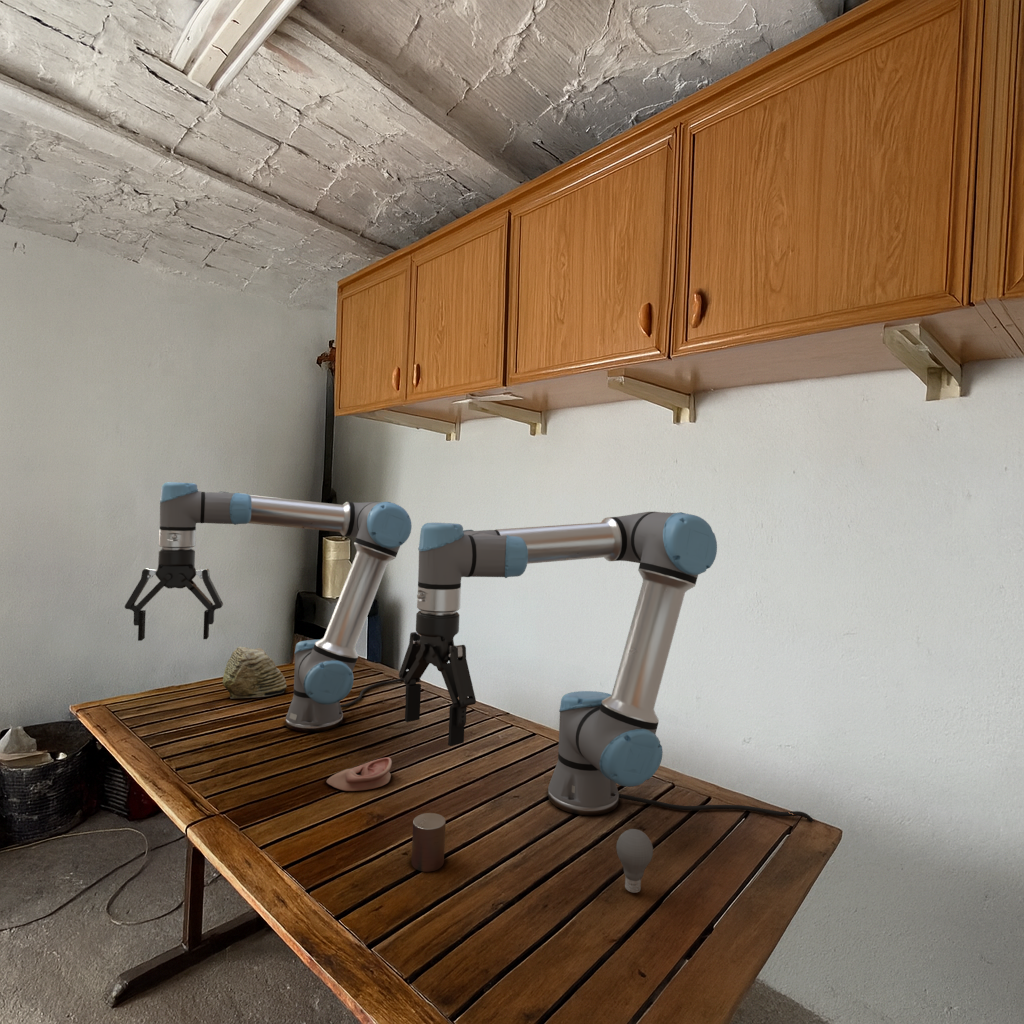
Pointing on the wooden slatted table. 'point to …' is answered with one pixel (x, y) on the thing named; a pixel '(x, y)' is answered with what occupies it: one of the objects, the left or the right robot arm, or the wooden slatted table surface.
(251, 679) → the fossil
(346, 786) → the anatomical model
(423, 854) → the canister
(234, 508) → the left robot arm
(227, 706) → the wooden slatted table surface
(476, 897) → the wooden slatted table surface
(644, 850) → the light bulb
